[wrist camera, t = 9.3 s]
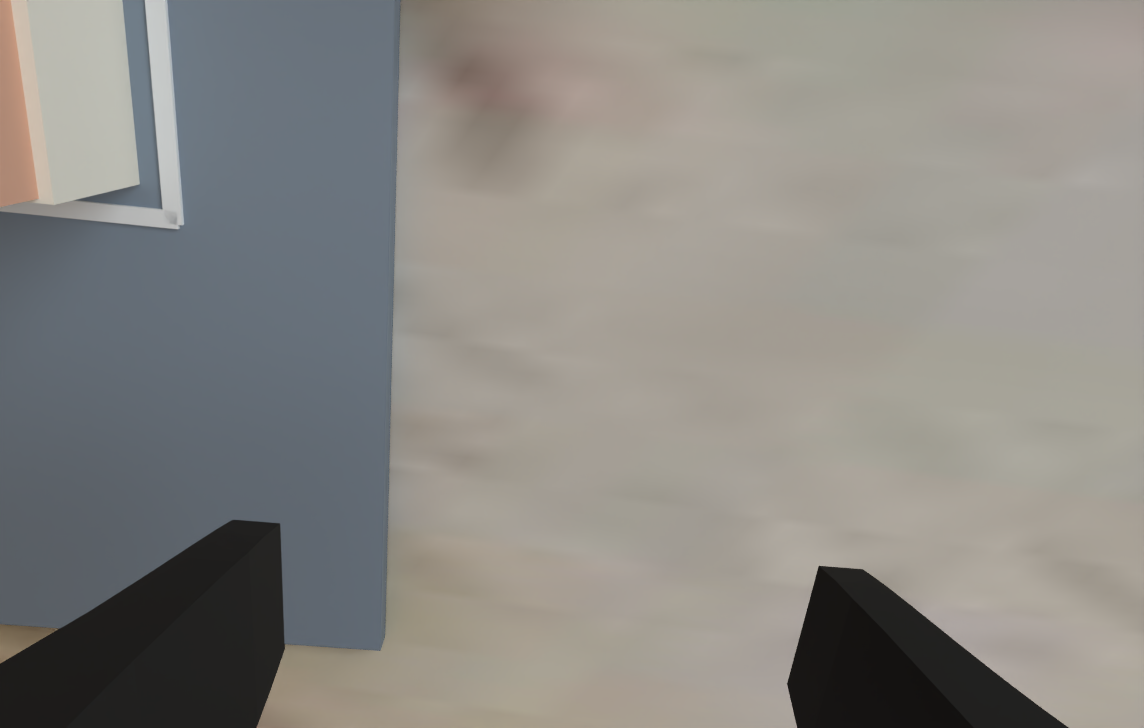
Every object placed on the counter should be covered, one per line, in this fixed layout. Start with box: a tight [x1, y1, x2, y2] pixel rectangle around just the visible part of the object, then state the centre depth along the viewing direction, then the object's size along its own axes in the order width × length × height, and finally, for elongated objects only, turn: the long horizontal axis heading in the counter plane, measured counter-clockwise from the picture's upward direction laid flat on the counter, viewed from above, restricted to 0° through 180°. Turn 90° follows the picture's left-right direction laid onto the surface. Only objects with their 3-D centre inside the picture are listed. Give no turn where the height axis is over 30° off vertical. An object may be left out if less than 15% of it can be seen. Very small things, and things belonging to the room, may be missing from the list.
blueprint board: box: [0, 0, 400, 651], centre depth 16 cm, size 20×16×4 cm
